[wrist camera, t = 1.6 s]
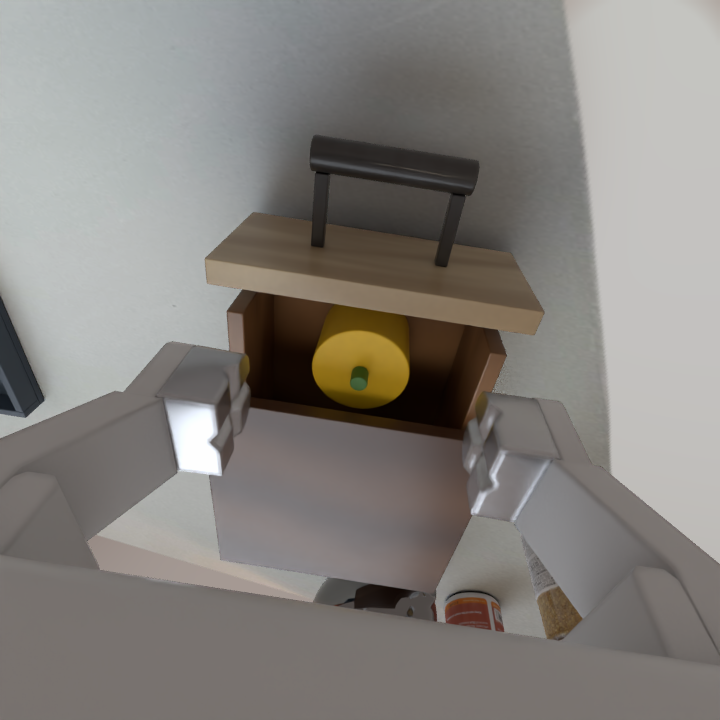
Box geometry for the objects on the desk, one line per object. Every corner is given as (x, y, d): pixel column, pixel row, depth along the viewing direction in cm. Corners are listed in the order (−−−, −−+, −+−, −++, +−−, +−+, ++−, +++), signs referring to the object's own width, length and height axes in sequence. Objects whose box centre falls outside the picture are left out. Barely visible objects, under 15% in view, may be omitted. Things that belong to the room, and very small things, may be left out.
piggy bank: (466, 555, 42) (483, 695, 33) (371, 601, 49) (363, 726, 40) (383, 506, 38) (376, 648, 29) (294, 563, 46) (266, 690, 36)
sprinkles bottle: (577, 492, 35) (656, 686, 24) (541, 519, 37) (598, 706, 26) (533, 473, 34) (593, 665, 23) (499, 502, 37) (539, 688, 26)
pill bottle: (434, 606, 49) (440, 728, 40) (462, 584, 45) (476, 713, 36) (479, 620, 50) (496, 743, 41) (510, 600, 46) (536, 729, 37)
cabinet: (250, 315, 28) (198, 399, 21) (480, 351, 28) (506, 447, 21) (255, 466, 37) (220, 560, 30) (428, 493, 37) (433, 594, 30)
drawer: (250, 113, 20) (191, 130, 14) (544, 159, 20) (597, 195, 14) (257, 405, 31) (225, 478, 26) (445, 435, 31) (454, 514, 26)
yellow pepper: (327, 285, 24) (311, 333, 19) (417, 300, 24) (419, 350, 19) (321, 358, 27) (305, 413, 22) (400, 371, 27) (399, 428, 22)
